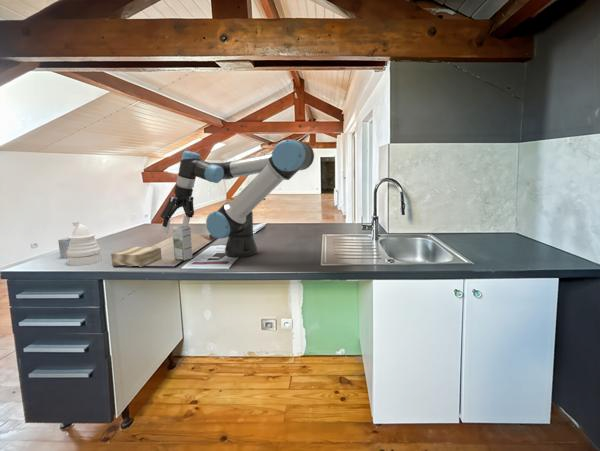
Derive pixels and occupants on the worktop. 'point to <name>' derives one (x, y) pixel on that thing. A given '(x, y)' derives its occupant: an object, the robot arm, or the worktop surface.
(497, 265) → the worktop surface
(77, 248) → the honey pot
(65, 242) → the medicine box
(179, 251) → the syrup box
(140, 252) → the birch block
